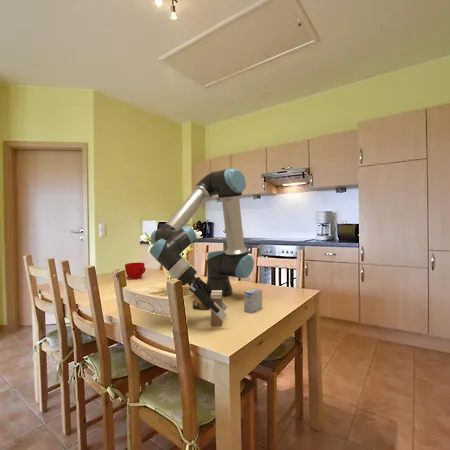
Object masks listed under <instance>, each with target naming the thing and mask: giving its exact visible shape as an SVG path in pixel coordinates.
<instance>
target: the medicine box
mask: <svg viewBox="0 0 450 450" xmlns="http://www.w3.org/2000/svg"><path fill="white" fill-rule="evenodd" d="M243 302H244V303H243V306H244V307H243V309H244V312H246V313H249V314H253V313H256V312H258V311H260V310H261V309H262V308H263V289H259V288H252V289H248V290H246V291H244V292H243Z"/></svg>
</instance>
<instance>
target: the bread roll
mask: <svg viewBox="0 0 450 450" xmlns="http://www.w3.org/2000/svg"><path fill="white" fill-rule="evenodd" d="M192 307H193V308H194V309H195V310H199V311H201V310H202V311H207V310H211V309H210V308H209V309H206V307H205V306H204V304H203V303H202V302H201V301H200V300H199V299H198V298H197V297H196V296H195V297H194V299H193V300H192Z"/></svg>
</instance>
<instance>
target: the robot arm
mask: <svg viewBox="0 0 450 450" xmlns="http://www.w3.org/2000/svg"><path fill="white" fill-rule="evenodd" d="M246 181H247V180H246V177H245V175H244V174H243V172H241V170H240V169H238V168H227V169H226V168H225V169H221V170H217V171H212V172H210V173H208V174H206V175H205V176H204V177H202V179H200V180H199V181H198V183H196V185H194V186H193V191H192V192H191V194H189V196H187V198H186V199H185V201H184V202H183V203H181V205H180V206H179V207H178V208H177V210H176V211H175V212H174V213H173V214H172V215H171V217H170V218H169V219H168V220H167V221H166V222H165V224H164V225H163V226H162V227H161V228H160V229H159V228H158V229H156V230H154V231H152V232H151V235H150V242H151V243H152V246H151V247H150V249H149V254H150V255H151V256H152V257H153V258H154V259H155V261H157V262H158V263H159V264H160V265H161V266H162V267H163V268H164V269H165V270H166V271H167V272H168V273H169V275H170V276H172V277H174V279H177V281H178V280H181V281H182V284H181V286H184V287H185V286H187V285H188V286H189V287H188V290H189V291H190V292H191V293H193V294H194V295H195V296H194V297H195V298H196V297H197V298H198V299H199V300H200V301H201V302H202V303H203V304H204V306H205V307H206V309H207V310H210V311H211V310H212V311H213V312H214V313H215V314H216V315H217V316H218V317H219V318H220V319H221V320H224V319H225V318H226V317H227V316H228V314H227V312H225V311H226V309H228V307H229V306H228V305H227V304H226V303H225V302H224V301H223V300H222V309H221V308H220V307H219V306H218V305H217V304H216V303H214V302H213V301H212V300H211V292H212V290H222V298H224V297H229V296H231V295H233V287H232V284H231V280H230V278H231V277H232V278H236V279H247V278H249V276H250V275H251V274H252V272H253V269H254V266H255V265H254V264H255V262H254V257H252V256H251V255H250V254H249V250H248V249H247V248H246V247H245V239H244V231H243V223H242V222H243V221H242V220H243V219H242V214H241V204H240V202H241V201H240V199H241V198H242V197H243V192H244V191H245V189H246V186H247V185H246V184H247V182H246ZM216 195H217V196H218V200H220V201H221V204H222V205H221V206H222V213H223V214H222V215H223V221H224V232H225V238H226V239H225V240H226V247H227V248H226V250H225V249H224V250H216V251H209V252H208V253H207V255H206V256H207V257H206V271H207V280H206V282H205V281H203V279H202V278H201V277H200V276H197V277H196V275H197V270H196V269H195V268H194V267H193V266H190V263H189V262H188V261H187V260H186V259H184V257H183V256H182V255H181V254H182V253H183V251H185V250H186V249H188V247H189V246H190V245H192V243H193V242H194V241H195V240H196V239H197V233H196V231H195V229H194V228H193V227H192V226H190V225H187V224H188V223H189V222H190V221H191V219H192V218H193V217H194V215H196V213H197V212H198V210H199V209H200V208H201V207H202V206H203V205H204V203H205V202H208V201H209V200H210V199H211V198H212V197H214V196H216ZM209 308H210V309H209Z"/></svg>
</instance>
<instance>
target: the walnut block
mask: <svg viewBox="0 0 450 450" xmlns="http://www.w3.org/2000/svg"><path fill="white" fill-rule="evenodd" d="M211 300H212V301H213V302H214V303H216V304H217V305H218V306H219V307H220V308H221V309H222V301H223V297H222V290H212V292H211ZM223 320H224V319H223ZM223 320H221V319H220V318H219V317H218V316H217V315H216V314H215V313H214V312H213V311H212V310H211V309H210V326H211V327H223Z"/></svg>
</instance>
